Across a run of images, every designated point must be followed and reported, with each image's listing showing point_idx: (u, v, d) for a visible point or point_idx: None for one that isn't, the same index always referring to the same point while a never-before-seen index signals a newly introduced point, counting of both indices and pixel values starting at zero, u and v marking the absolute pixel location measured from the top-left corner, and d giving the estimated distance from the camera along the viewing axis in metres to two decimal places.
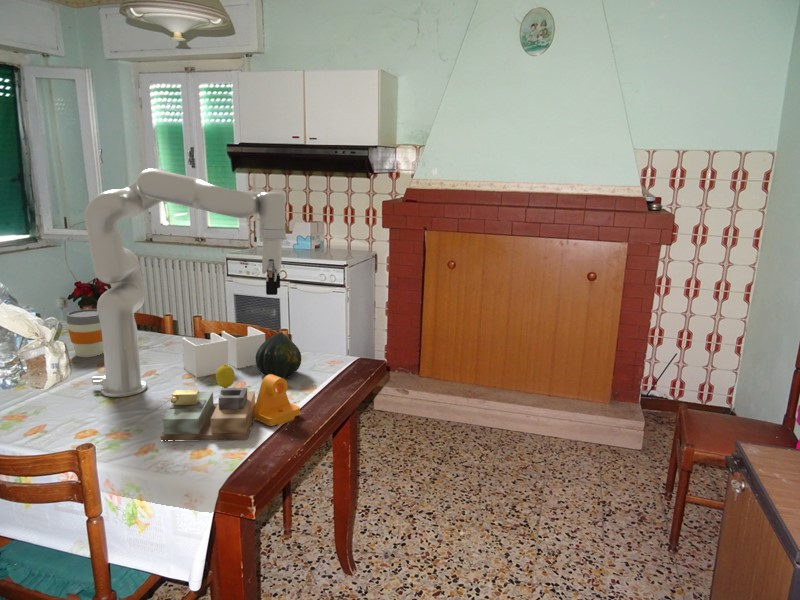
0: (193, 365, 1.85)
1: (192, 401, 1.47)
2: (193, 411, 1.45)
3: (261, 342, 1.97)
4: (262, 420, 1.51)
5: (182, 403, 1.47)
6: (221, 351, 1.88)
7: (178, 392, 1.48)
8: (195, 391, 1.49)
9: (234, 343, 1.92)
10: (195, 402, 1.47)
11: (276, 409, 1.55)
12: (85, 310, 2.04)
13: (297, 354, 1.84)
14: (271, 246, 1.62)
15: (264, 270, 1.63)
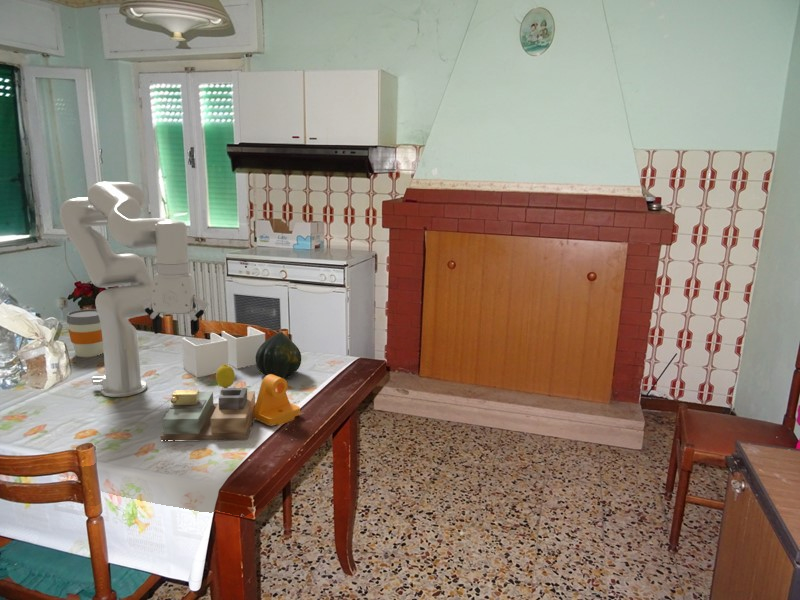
0: (193, 365, 1.85)
1: (192, 401, 1.47)
2: (193, 411, 1.45)
3: (261, 342, 1.97)
4: (262, 420, 1.51)
5: (182, 403, 1.47)
6: (221, 351, 1.88)
7: (178, 392, 1.48)
8: (195, 391, 1.49)
9: (234, 343, 1.92)
10: (195, 402, 1.47)
11: (276, 409, 1.55)
12: (85, 310, 2.04)
13: (297, 354, 1.84)
14: (191, 281, 1.46)
15: (191, 309, 1.45)
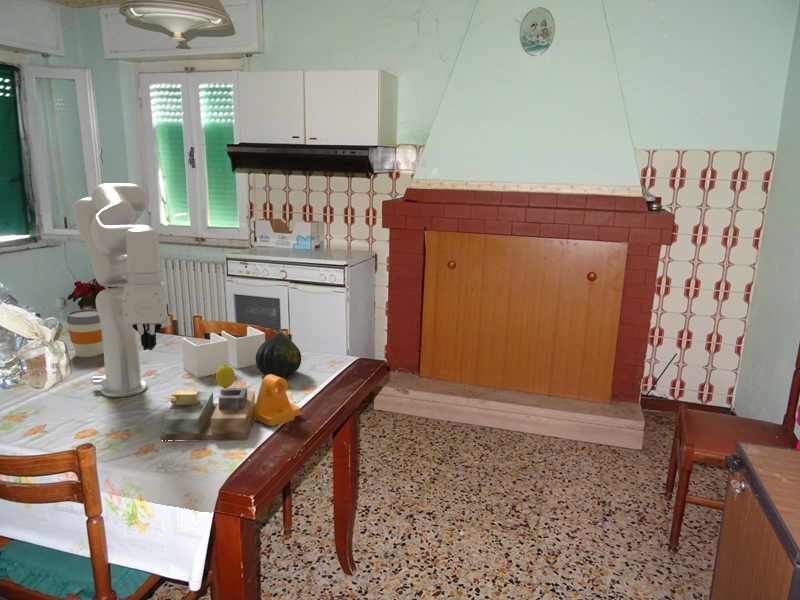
0: (193, 366, 1.84)
1: (192, 401, 1.47)
2: (193, 411, 1.45)
3: (261, 342, 1.97)
4: (262, 420, 1.51)
5: (182, 403, 1.47)
6: (221, 351, 1.88)
7: (178, 392, 1.48)
8: (195, 391, 1.49)
9: (234, 343, 1.92)
10: (195, 402, 1.47)
11: (276, 409, 1.55)
12: (85, 310, 2.04)
13: (297, 354, 1.84)
14: (165, 289, 1.42)
15: (165, 318, 1.41)
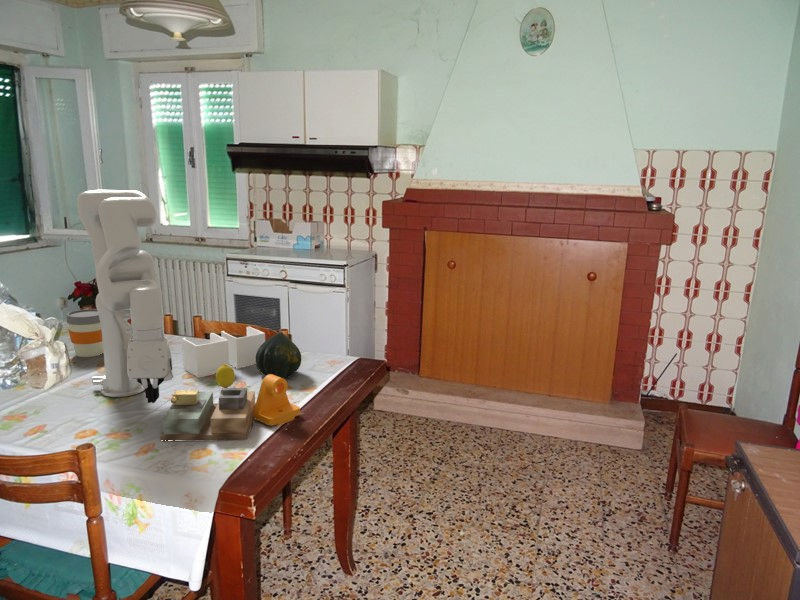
0: (194, 366, 1.84)
1: (192, 401, 1.47)
2: (193, 411, 1.45)
3: (261, 342, 1.98)
4: (262, 420, 1.51)
5: (182, 403, 1.47)
6: (222, 351, 1.88)
7: (178, 392, 1.48)
8: (195, 391, 1.49)
9: (234, 343, 1.92)
10: (195, 402, 1.47)
11: (276, 409, 1.55)
12: (85, 310, 2.04)
13: (297, 354, 1.84)
14: (168, 344, 1.45)
15: (168, 373, 1.44)
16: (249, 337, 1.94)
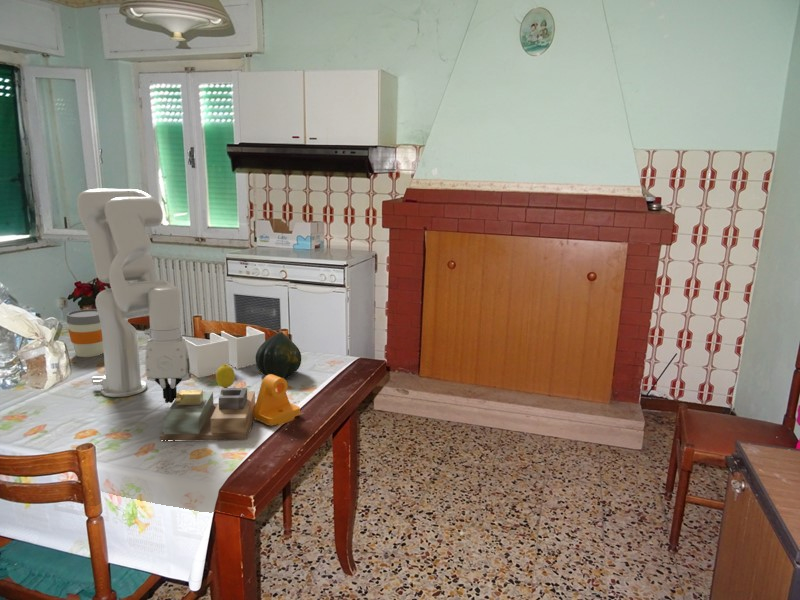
0: (194, 366, 1.84)
1: (196, 401, 1.47)
2: (193, 411, 1.45)
3: (261, 342, 1.98)
4: (262, 420, 1.51)
5: (186, 403, 1.47)
6: (222, 351, 1.88)
7: (182, 392, 1.48)
8: (199, 391, 1.49)
9: (234, 343, 1.92)
10: (199, 402, 1.47)
11: (276, 409, 1.55)
12: (85, 310, 2.04)
13: (297, 354, 1.84)
14: (186, 344, 1.45)
15: (186, 373, 1.45)
16: (249, 337, 1.94)
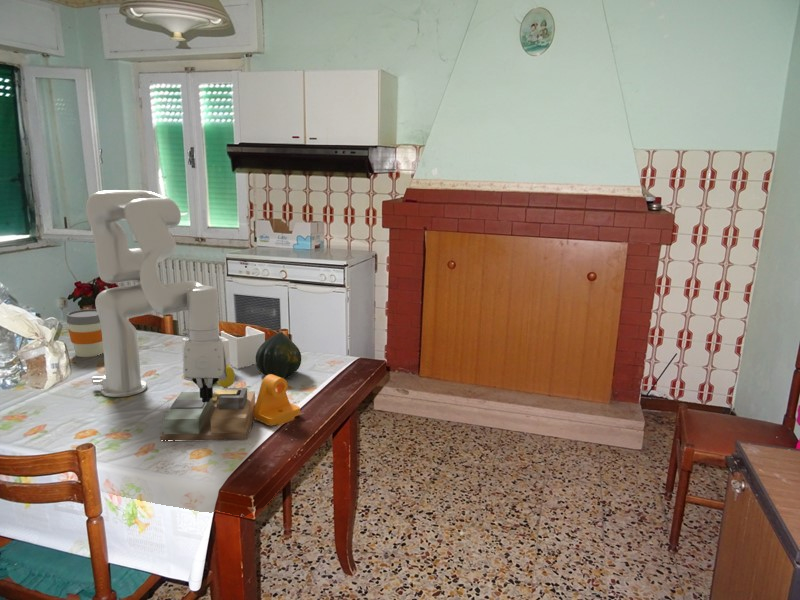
0: None
1: None
2: (193, 411, 1.45)
3: (261, 341, 1.98)
4: (262, 420, 1.51)
5: None
6: None
7: (218, 391, 1.49)
8: (235, 391, 1.50)
9: (235, 343, 1.92)
10: None
11: (276, 409, 1.55)
12: (85, 310, 2.04)
13: (297, 354, 1.84)
14: None
15: (223, 372, 1.46)
16: (249, 337, 1.94)
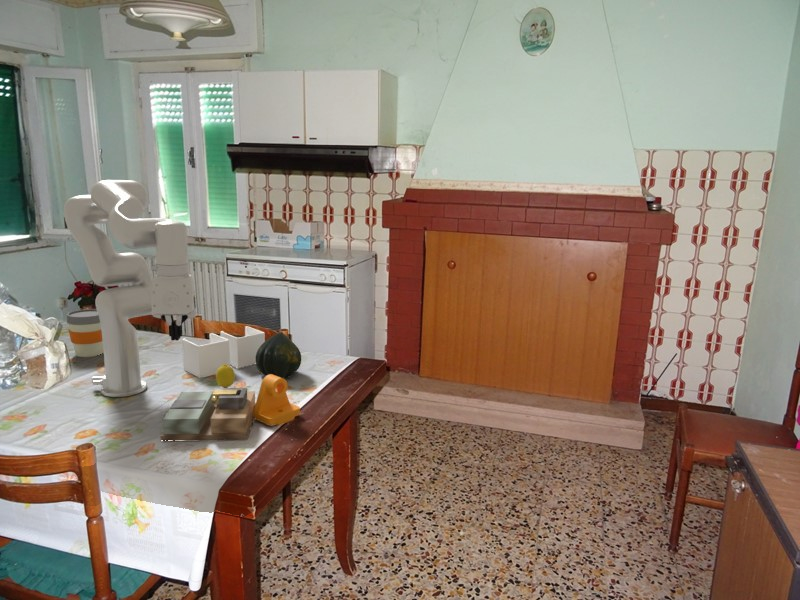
0: (195, 366, 1.84)
1: None
2: (193, 411, 1.45)
3: (261, 341, 1.98)
4: (262, 420, 1.51)
5: None
6: (223, 351, 1.88)
7: (217, 391, 1.49)
8: (234, 391, 1.50)
9: (235, 343, 1.92)
10: None
11: (276, 409, 1.55)
12: (85, 310, 2.04)
13: (297, 354, 1.84)
14: (192, 281, 1.45)
15: (192, 310, 1.45)
16: (249, 337, 1.94)
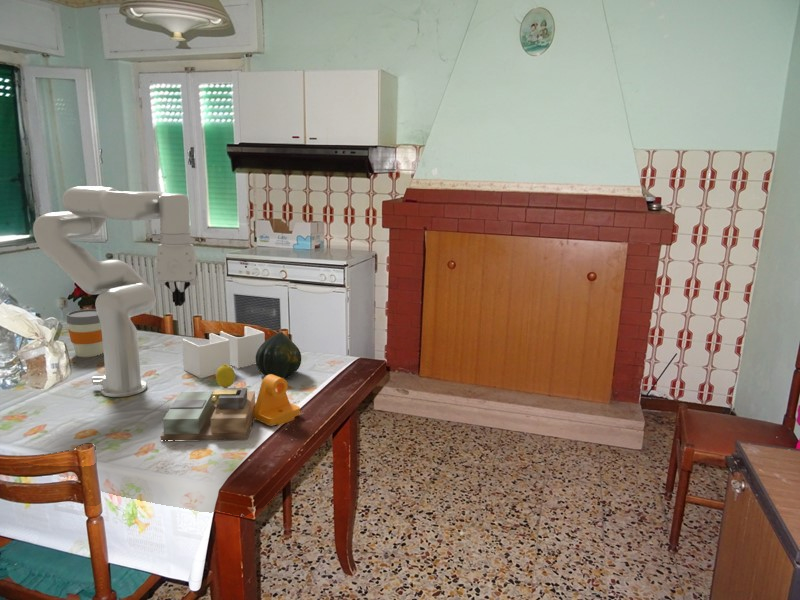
0: (196, 366, 1.84)
1: None
2: (193, 411, 1.45)
3: (261, 341, 1.98)
4: (262, 420, 1.51)
5: None
6: (223, 351, 1.88)
7: (217, 391, 1.49)
8: (234, 391, 1.50)
9: (235, 343, 1.92)
10: None
11: (276, 409, 1.55)
12: (85, 310, 2.04)
13: (297, 354, 1.84)
14: (194, 250, 1.55)
15: (194, 276, 1.54)
16: (249, 337, 1.95)
